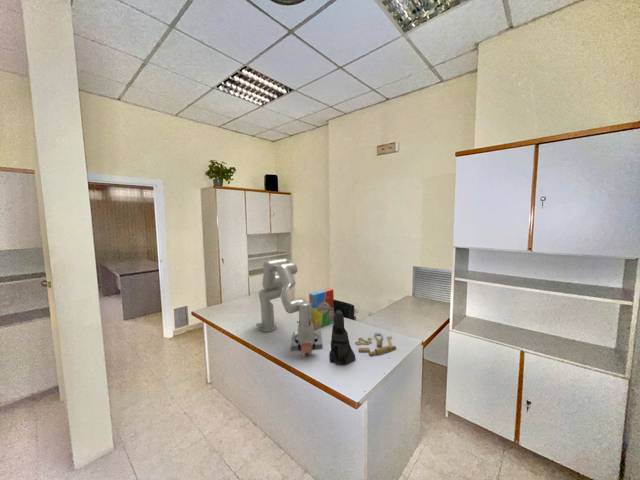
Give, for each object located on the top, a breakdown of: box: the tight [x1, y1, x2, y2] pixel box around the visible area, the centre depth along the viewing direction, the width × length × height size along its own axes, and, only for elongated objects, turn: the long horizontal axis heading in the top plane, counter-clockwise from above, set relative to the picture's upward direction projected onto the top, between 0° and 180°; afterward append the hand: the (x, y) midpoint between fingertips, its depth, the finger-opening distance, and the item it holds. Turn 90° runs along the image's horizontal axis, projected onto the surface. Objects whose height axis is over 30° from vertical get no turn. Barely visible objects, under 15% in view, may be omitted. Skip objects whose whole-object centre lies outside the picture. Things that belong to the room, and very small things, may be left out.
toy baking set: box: [354, 332, 397, 356], centre depth 167 cm, size 33×25×4 cm
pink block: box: [301, 341, 313, 358], centre depth 157 cm, size 6×6×7 cm
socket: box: [290, 329, 324, 351], centre depth 173 cm, size 20×20×4 cm
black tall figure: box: [328, 309, 357, 366], centre depth 149 cm, size 14×14×30 cm
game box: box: [308, 287, 335, 331], centre depth 197 cm, size 21×6×27 cm, turn 129°
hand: (306, 349), depth 157 cm, fingers open, 7 cm apart
